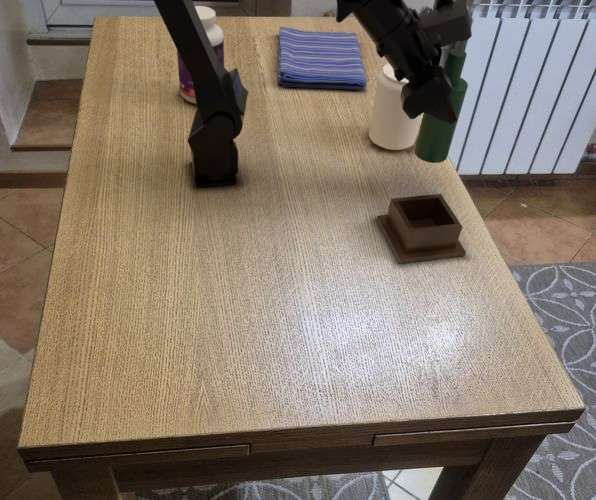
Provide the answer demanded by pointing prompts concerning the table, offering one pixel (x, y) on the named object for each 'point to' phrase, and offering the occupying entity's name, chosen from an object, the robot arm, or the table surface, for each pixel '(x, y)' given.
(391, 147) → the beverage can
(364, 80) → the dish towel
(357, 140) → the table surface
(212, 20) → the pill bottle
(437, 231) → the holder
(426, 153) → the bottle
